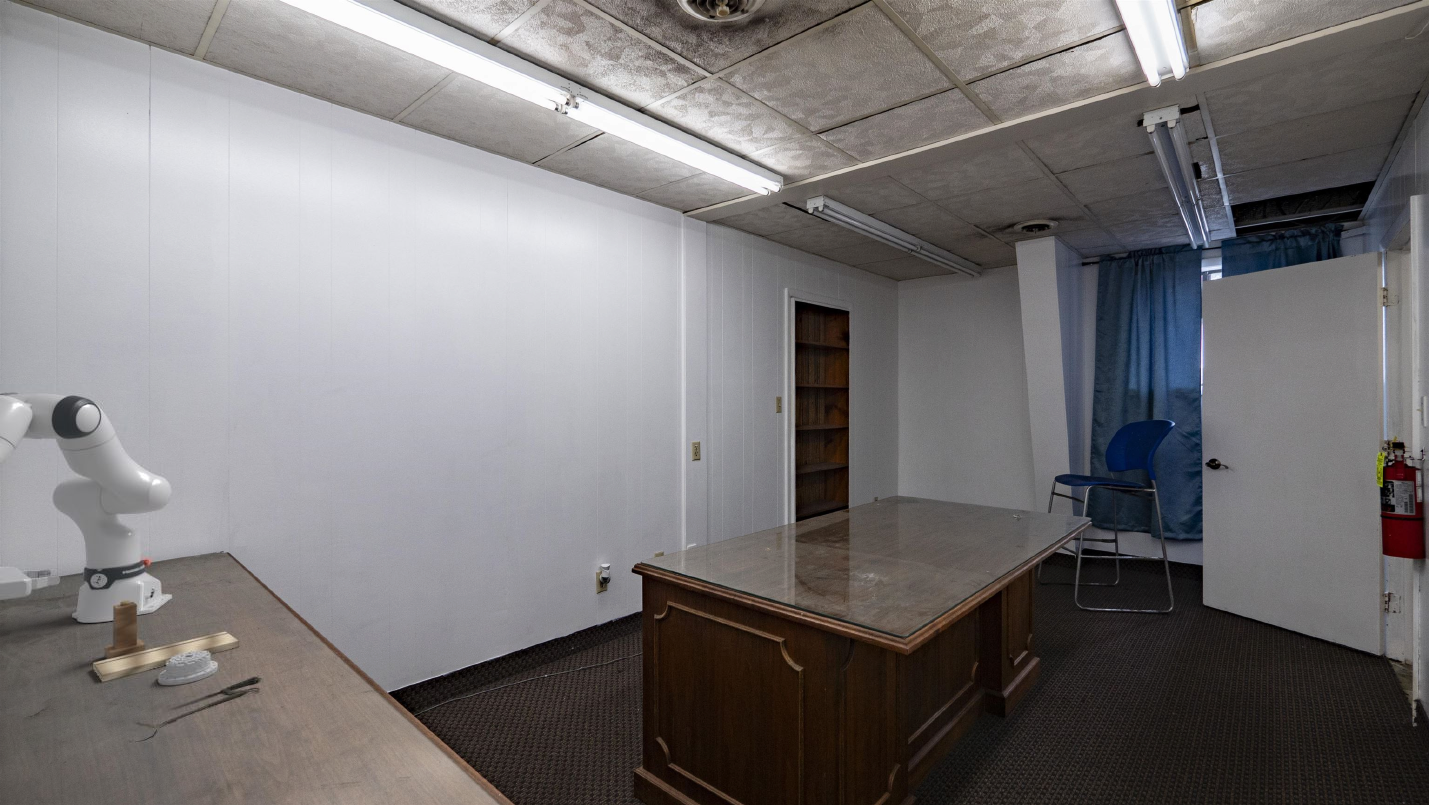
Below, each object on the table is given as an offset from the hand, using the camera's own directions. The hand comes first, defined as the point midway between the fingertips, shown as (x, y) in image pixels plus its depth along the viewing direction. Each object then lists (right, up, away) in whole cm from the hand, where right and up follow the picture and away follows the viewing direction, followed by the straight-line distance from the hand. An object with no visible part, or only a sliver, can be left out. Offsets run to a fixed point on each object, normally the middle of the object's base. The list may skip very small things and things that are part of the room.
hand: (54, 576), depth 137 cm
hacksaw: (+45, -22, -15) cm, 52 cm away
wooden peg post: (+6, -21, +10) cm, 24 cm away
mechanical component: (+30, -22, 0) cm, 37 cm away
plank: (+18, -21, +9) cm, 29 cm away
